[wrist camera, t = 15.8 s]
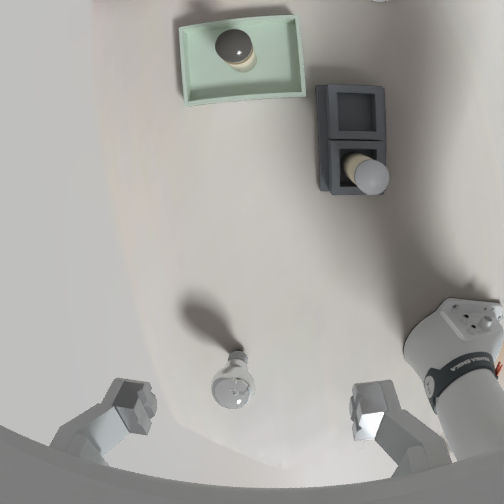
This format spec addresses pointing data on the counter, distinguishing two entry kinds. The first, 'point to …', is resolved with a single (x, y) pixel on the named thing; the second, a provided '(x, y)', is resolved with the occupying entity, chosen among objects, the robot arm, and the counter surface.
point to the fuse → (365, 172)
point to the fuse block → (348, 131)
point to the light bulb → (233, 383)
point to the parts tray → (248, 83)
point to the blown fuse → (236, 50)
